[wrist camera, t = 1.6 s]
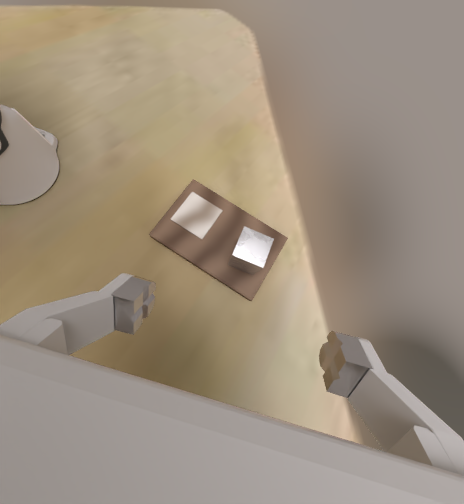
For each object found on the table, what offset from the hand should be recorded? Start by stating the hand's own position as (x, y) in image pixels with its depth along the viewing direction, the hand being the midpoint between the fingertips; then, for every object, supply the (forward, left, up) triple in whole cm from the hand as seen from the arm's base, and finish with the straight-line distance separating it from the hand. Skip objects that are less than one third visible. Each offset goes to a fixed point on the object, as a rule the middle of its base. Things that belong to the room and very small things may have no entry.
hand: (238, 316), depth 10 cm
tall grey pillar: (0, +11, -28) cm, 30 cm away
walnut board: (-6, +12, -30) cm, 33 cm away
